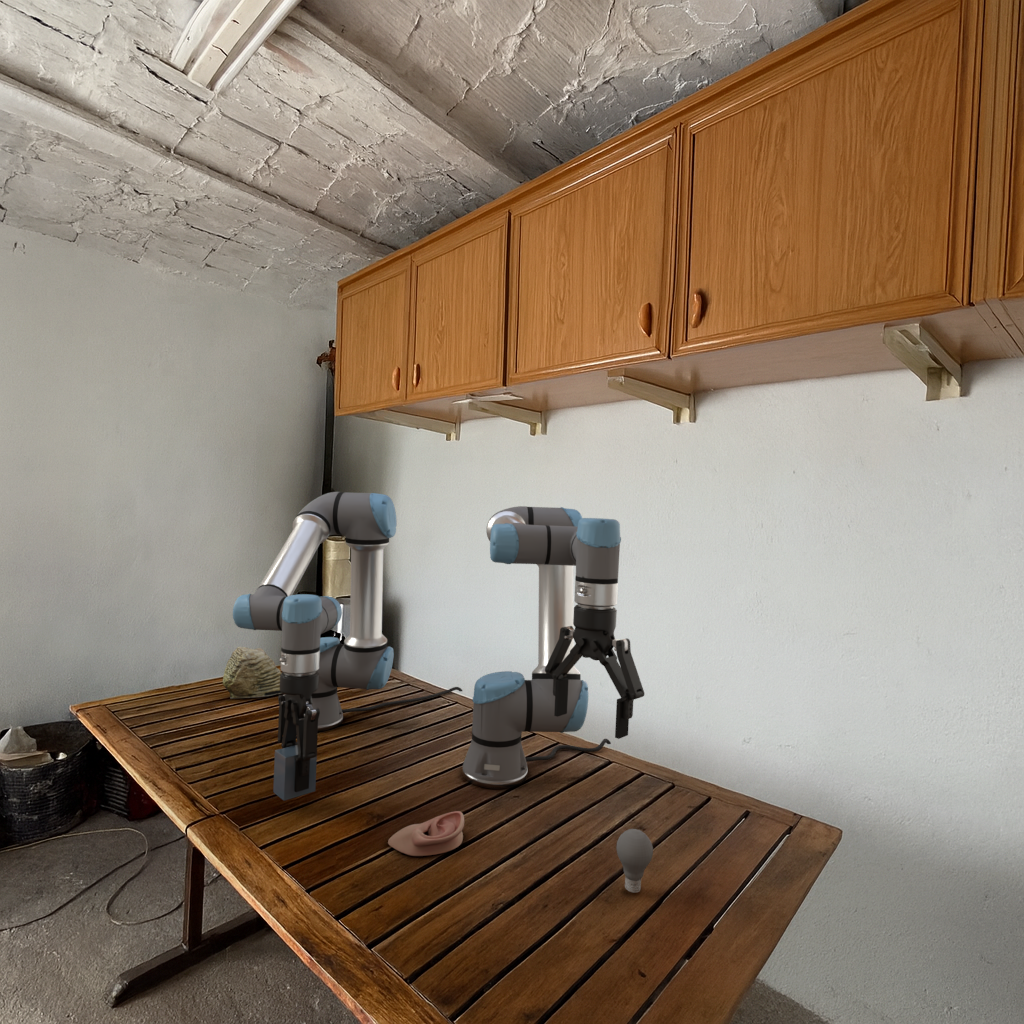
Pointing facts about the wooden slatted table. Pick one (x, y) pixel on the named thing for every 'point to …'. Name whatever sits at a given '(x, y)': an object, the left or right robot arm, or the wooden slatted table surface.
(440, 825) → the anatomical model
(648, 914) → the wooden slatted table surface
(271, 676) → the fossil
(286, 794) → the brick
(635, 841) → the light bulb
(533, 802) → the wooden slatted table surface
